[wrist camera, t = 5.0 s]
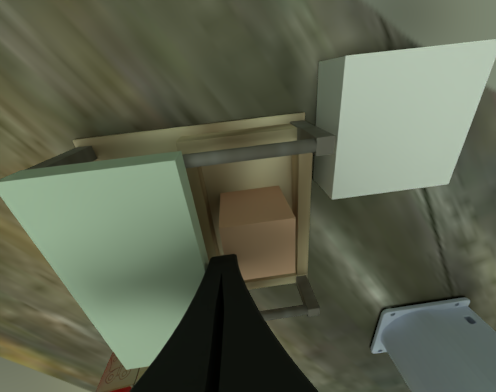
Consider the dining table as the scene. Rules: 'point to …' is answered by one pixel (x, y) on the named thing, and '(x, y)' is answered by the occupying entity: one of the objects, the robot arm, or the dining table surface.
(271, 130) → the grey frame
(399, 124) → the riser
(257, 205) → the block
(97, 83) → the dining table surface
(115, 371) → the stack of blocks
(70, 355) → the dining table surface
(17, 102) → the dining table surface
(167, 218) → the lid
